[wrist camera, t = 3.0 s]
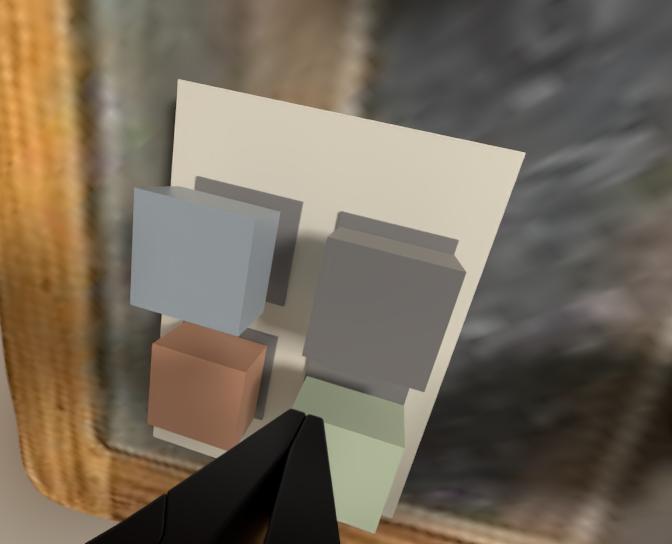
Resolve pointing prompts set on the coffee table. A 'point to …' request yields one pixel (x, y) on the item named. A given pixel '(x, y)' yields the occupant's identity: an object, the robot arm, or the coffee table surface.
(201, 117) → the keypad board
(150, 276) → the slate key
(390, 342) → the charcoal key
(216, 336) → the terracotta key
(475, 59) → the coffee table surface
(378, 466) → the sage key
